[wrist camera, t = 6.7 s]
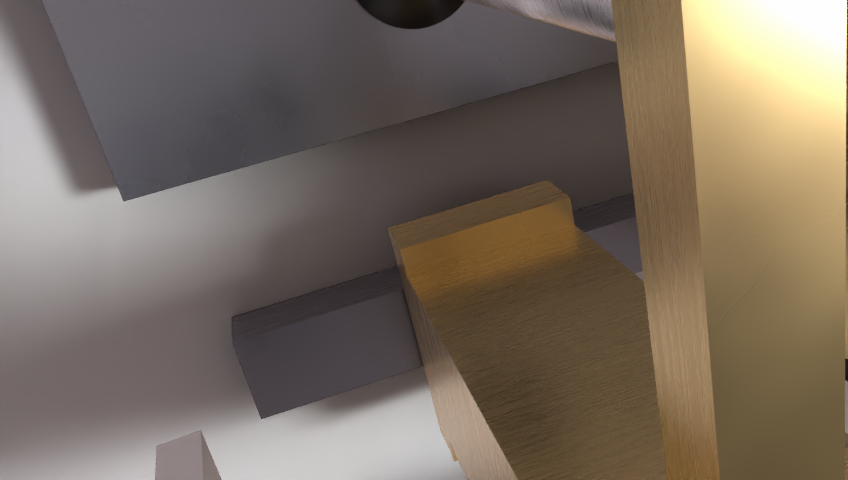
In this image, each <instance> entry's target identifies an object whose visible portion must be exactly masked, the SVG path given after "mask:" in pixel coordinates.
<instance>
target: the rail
mask: <svg viewBox="0 0 848 480" xmlns="http://www.w3.org/2000/svg"><path fill="white" fill-rule="evenodd" d="M573 218H574V225H575V226H577V227H578V228H579V229H580V230H582V231H583V232H584V233H585V234H586V235H588V236H589V237H590V238H591V239H593V240H594V241H595V242H596V243H597V244H599V245H600V246H601V247H602V248H604V249H605V250H606V251H607V252H608V253H610V254H611V255H612V256H613V257H615V258H616V259H617V260H618V261H619V262H621V263H622V264H623V265H624V266H625V267H627V268H628V269H629V270H630V271H632V272H633V273H634V274H636V273H638V272H641V271H643V270H642V261H641V252H640V244H639V235H638V227H637V218H636V210H635V201H634V193H632V194H629V195H626V196H623V197H619V198H616V199H613V200H610V201H606V202H603V203H600V204H597V205H593V206H590V207H587V208H584V209H581V210H577V211H574V212H573ZM232 341H233V345H234V348H235V351H236V353H237V356H238V359H239V361H240V364H241V367H242V369H243V372H244V375H245V377H246V380H247V383H248V385H249V388H250V391H251V393H252V396H253V399H254V401H255V404H256V407H257V409H258V412H259V415H260V417H261V419H263V418H266V417H269V416H272V415H275V414H278V413H281V412H285V411H288V410H291V409H294V408H297V407H300V406H303V405H306V404H309V403H312V402H315V401H318V400H321V399H324V398H327V397H330V396H333V395H336V394H339V393H342V392H345V391H348V390H351V389H354V388H357V387H360V386H364V385H367V384H370V383H373V382H376V381H379V380H382V379H385V378H388V377H391V376H394V375H397V374H400V373H403V372H406V371H409V370H412V369H415V368H418V367H421V366H424V365H423V361H422V357H421V353H420V349H419V346H418V342H417V338H416V334H415V330H414V326H413V323H412V319H411V315H410V311H409V307H408V303H407V300H406V296H405V292H404V288H403V284H402V280H401V277H400V273H399V269H398V266H396V267H393V268H390V269H387V270H383V271H380V272H377V273H374V274H371V275H367V276H364V277H361V278H358V279H354V280H351V281H348V282H345V283H341V284H338V285H335V286H332V287H329V288H325V289H322V290H319V291H316V292H312V293H309V294H306V295H303V296H300V297H296V298H293V299H290V300H287V301H283V302H280V303H277V304H274V305H270V306H267V307H264V308H261V309H258V310H254V311H251V312H248V313H245V314H241V315H238V316H235V317H232Z"/></svg>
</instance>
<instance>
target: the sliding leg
mask: <svg viewBox="0 0 848 480" xmlns="http://www.w3.org/2000/svg"><path fill="white" fill-rule="evenodd" d="M463 1H467V2H470V3H474V4H478V5H481V6H485V7H489V8H492V9H496V10H500V11H504V12H507V13H511V14H515V15H518V16H522V17H526V18H529V19H533V20H537V21H540V22H544V23H548V24H551V25H555V26H559V27H562V28H566V29H570V30H573V31H577V32H581V33H584V34H588V35H592V36H595V37H599V38H603V39H606V40H610V41H614V42H616V46H617V55H618V64H619V72H620V81H621V89H622V98H623V107H624V115H625V124H626V132H627V141H628V149H629V158H630V167H631V175H632V184H633V192H634V201H635V210H636V218H637V227H638V235H639V244H640V252H641V261H642V270H643V278H644V281H643V280H641V279H640V278H639V277H638V276H636V275H635V274H634V273H633V272H632V271H630V270H629V269H628V268H627V267H625V266H624V265H623V264H622V263H621V262H619V261H618V260H617V259H616V258H615V257H613V256H612V255H611V254H610V253H608V252H607V251H606V250H605V249H604V248H602V247H601V246H600V245H599V244H597V243H596V242H595V241H594V240H593V239H591V238H590V237H589V236H588V235H586V234H585V233H584V232H583V231H582V230H580V229H579V228H578V227H577V226H575V225H574V218H573V212H572V205H571V199H570V197H569V196H568V195H567V194H565V193H564V192H563V191H561V190H560V189H559V188H557V187H556V186H555V185H553V184H552V183H551V182H549V181H548V180H545V181H541V182H538V183H535V184H531V185H528V186H525V187H521V188H518V189H515V190H511V191H508V192H505V193H502V194H498V195H495V196H492V197H488V198H485V199H482V200H478V201H475V202H472V203H468V204H465V205H462V206H458V207H455V208H452V209H449V210H445V211H442V212H439V213H435V214H432V215H429V216H425V217H422V218H419V219H415V220H412V221H409V222H406V223H402V224H399V225H396V226H392V227H389V228H388V231H389V235H390V238H391V242H392V246H393V250H394V254H395V257H396V261H397V265H398V269H399V273H400V277H401V280H402V284H403V288H404V292H405V296H406V300H407V303H408V307H409V311H410V315H411V319H412V323H413V326H414V330H415V334H416V338H417V342H418V346H419V349H420V353H421V357H422V361H423V365H424V368H425V372H426V376H427V380H428V384H429V388H430V391H431V395H432V399H433V403H434V407H435V411H436V414H437V418H438V422H439V426H440V430H441V432H442V434H443V436H444V439H445V441H446V443H447V445H448V448H449V450H450V452H451V454H452V457H453V459H454V461H459V463H460V465H461V467H462V469H463V472H464V474H465V476H466V478H467V480H848V448H846V447H845V283H846V36H847V0H463Z"/></svg>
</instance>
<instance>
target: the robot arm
mask: <svg viewBox="0 0 848 480" xmlns="http://www.w3.org/2000/svg"><path fill="white" fill-rule="evenodd" d="M635 275H636V276H638V277H639V278H640V279H641V280H643V281H644V278H643V271H641V272H638V273H636V274H635ZM845 447H846V448H848V359H846V358H845ZM155 480H222V479H221V477H220V475H219V472H218V470H217V468H216V465H215V463H214V460H213V458H212V456H211V453H210V451H209V449H208V446H207V444H206V441H205V439H204V437H203V434H202V432H201V430H200V431H197V432H194V433H192V434H189V435H186V436H183V437H181V438H178V439H175V440H172V441H170V442H167V443H164V444H161V445H158V446H157V447H156V473H155Z"/></svg>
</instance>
